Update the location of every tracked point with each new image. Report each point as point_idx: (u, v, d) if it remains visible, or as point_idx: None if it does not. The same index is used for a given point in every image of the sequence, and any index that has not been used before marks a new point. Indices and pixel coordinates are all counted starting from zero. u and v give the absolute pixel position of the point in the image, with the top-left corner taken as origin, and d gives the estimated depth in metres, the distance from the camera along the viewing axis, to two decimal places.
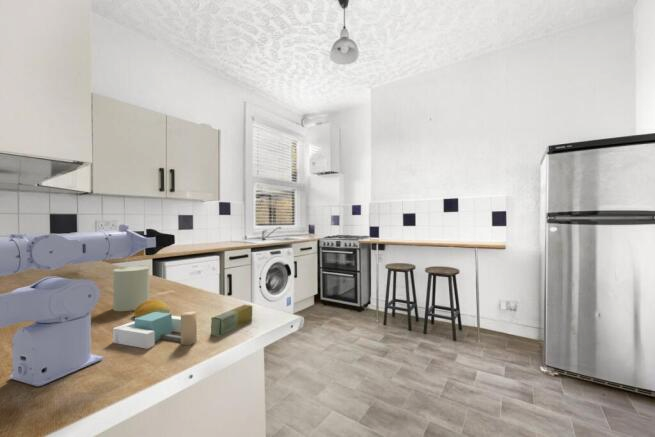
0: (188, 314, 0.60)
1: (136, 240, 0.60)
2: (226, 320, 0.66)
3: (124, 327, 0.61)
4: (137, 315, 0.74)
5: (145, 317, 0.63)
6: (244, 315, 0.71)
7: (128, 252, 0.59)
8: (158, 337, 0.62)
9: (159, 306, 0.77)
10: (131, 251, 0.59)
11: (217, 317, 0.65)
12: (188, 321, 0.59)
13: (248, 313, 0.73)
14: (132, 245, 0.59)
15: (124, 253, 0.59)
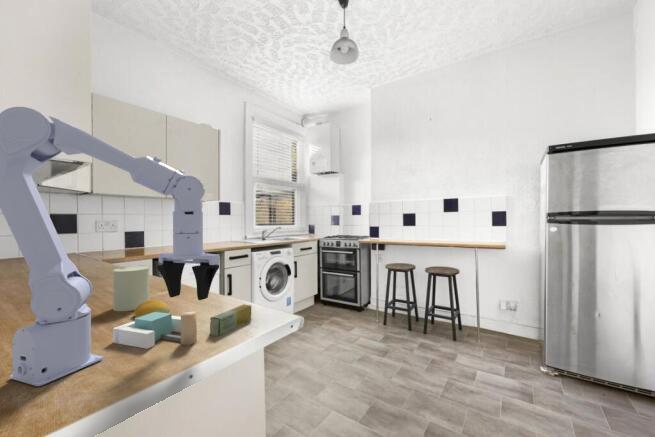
0: (188, 314, 0.60)
1: None
2: (225, 320, 0.66)
3: (124, 327, 0.61)
4: (137, 315, 0.75)
5: (145, 317, 0.63)
6: (243, 315, 0.71)
7: (189, 253, 0.58)
8: (158, 337, 0.62)
9: (159, 306, 0.77)
10: (191, 255, 0.58)
11: (216, 317, 0.65)
12: (188, 321, 0.59)
13: (247, 313, 0.73)
14: (197, 254, 0.59)
15: (188, 249, 0.58)
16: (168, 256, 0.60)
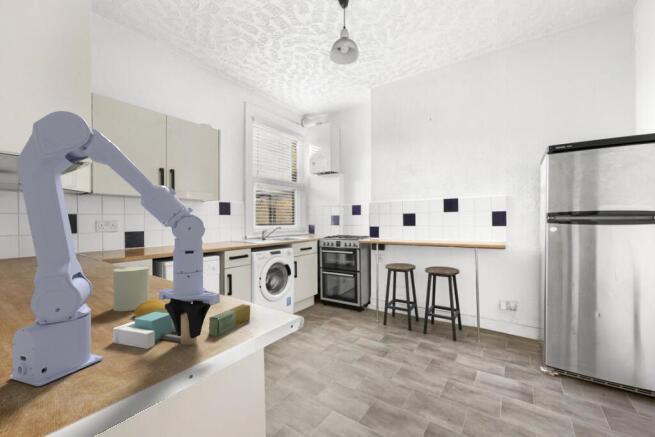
0: None
1: None
2: (224, 320, 0.66)
3: (124, 327, 0.61)
4: (137, 315, 0.75)
5: (145, 317, 0.63)
6: (242, 315, 0.72)
7: (189, 292, 0.58)
8: (158, 337, 0.62)
9: (159, 306, 0.77)
10: (191, 294, 0.58)
11: (215, 317, 0.65)
12: (188, 321, 0.59)
13: (246, 313, 0.73)
14: (197, 293, 0.59)
15: (188, 289, 0.58)
16: (168, 294, 0.60)
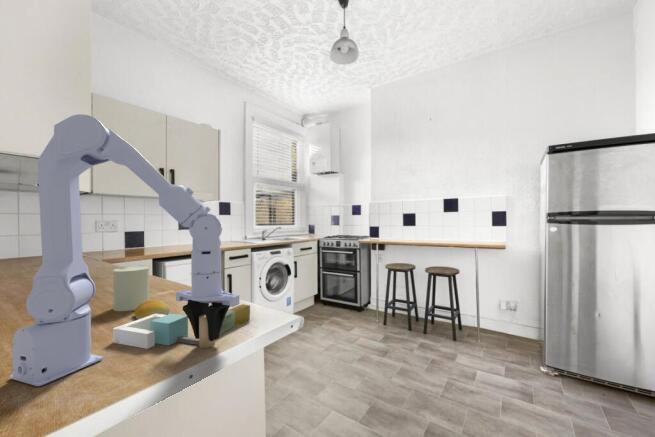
0: None
1: None
2: (223, 320, 0.66)
3: (124, 327, 0.61)
4: (137, 315, 0.75)
5: (161, 319, 0.61)
6: (241, 315, 0.72)
7: (208, 294, 0.57)
8: (175, 340, 0.61)
9: (159, 306, 0.77)
10: (210, 296, 0.57)
11: None
12: (207, 324, 0.58)
13: (246, 313, 0.73)
14: (216, 294, 0.58)
15: (207, 290, 0.57)
16: (186, 296, 0.58)
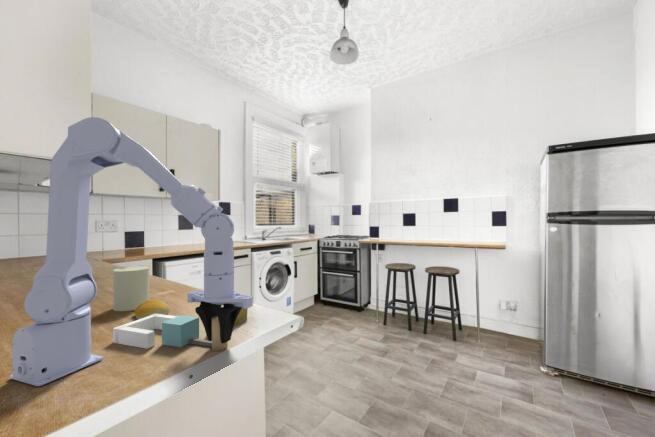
0: None
1: (235, 297, 0.57)
2: None
3: (124, 327, 0.61)
4: (137, 315, 0.75)
5: (172, 321, 0.60)
6: (239, 314, 0.72)
7: (221, 295, 0.56)
8: (186, 342, 0.59)
9: (159, 306, 0.77)
10: (223, 298, 0.56)
11: None
12: None
13: (243, 312, 0.74)
14: (229, 296, 0.57)
15: (220, 292, 0.55)
16: (198, 297, 0.57)
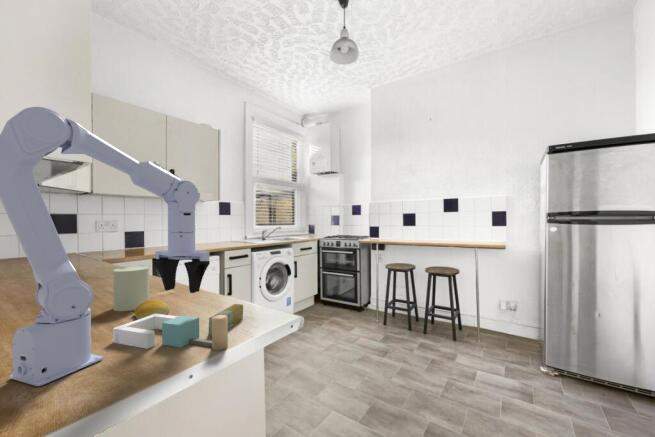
0: (219, 318, 0.57)
1: None
2: None
3: (124, 327, 0.61)
4: (137, 315, 0.75)
5: (173, 321, 0.60)
6: (237, 314, 0.72)
7: (182, 250, 0.64)
8: (187, 342, 0.59)
9: (159, 306, 0.77)
10: (183, 252, 0.64)
11: None
12: (220, 326, 0.57)
13: (240, 312, 0.74)
14: (189, 251, 0.65)
15: (181, 247, 0.64)
16: (163, 253, 0.66)
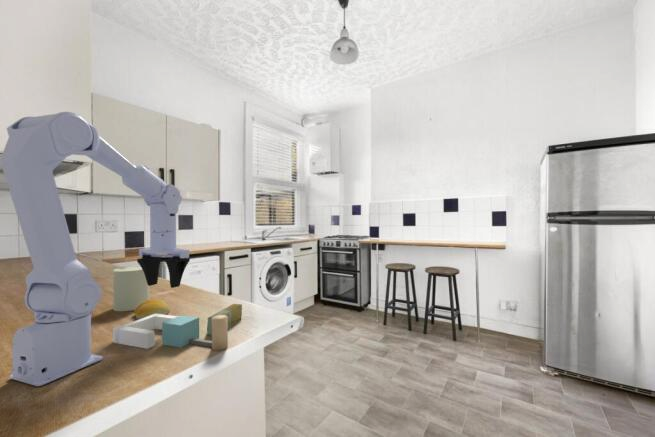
0: (219, 318, 0.57)
1: None
2: None
3: (124, 327, 0.61)
4: (137, 314, 0.75)
5: (173, 321, 0.60)
6: (235, 314, 0.72)
7: (163, 248, 0.70)
8: (187, 342, 0.59)
9: (159, 306, 0.77)
10: (165, 250, 0.70)
11: None
12: (220, 326, 0.57)
13: (239, 312, 0.74)
14: (170, 249, 0.71)
15: (162, 245, 0.70)
16: (146, 251, 0.71)
